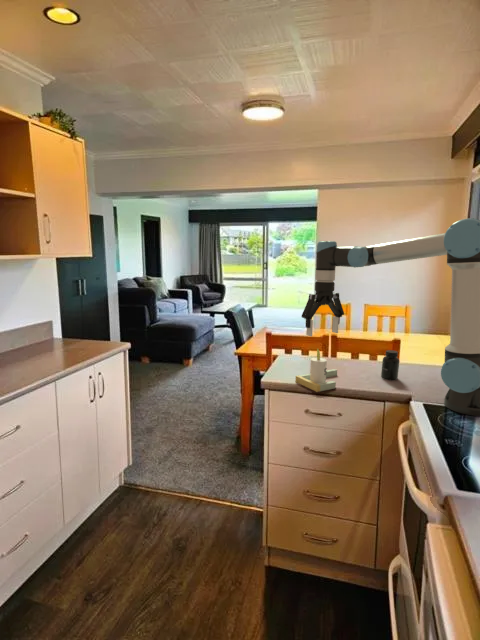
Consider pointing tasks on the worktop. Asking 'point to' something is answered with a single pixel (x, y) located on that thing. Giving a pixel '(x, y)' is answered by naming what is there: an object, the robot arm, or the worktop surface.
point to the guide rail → (316, 387)
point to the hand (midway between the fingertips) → (322, 334)
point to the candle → (318, 369)
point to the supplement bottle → (390, 365)
